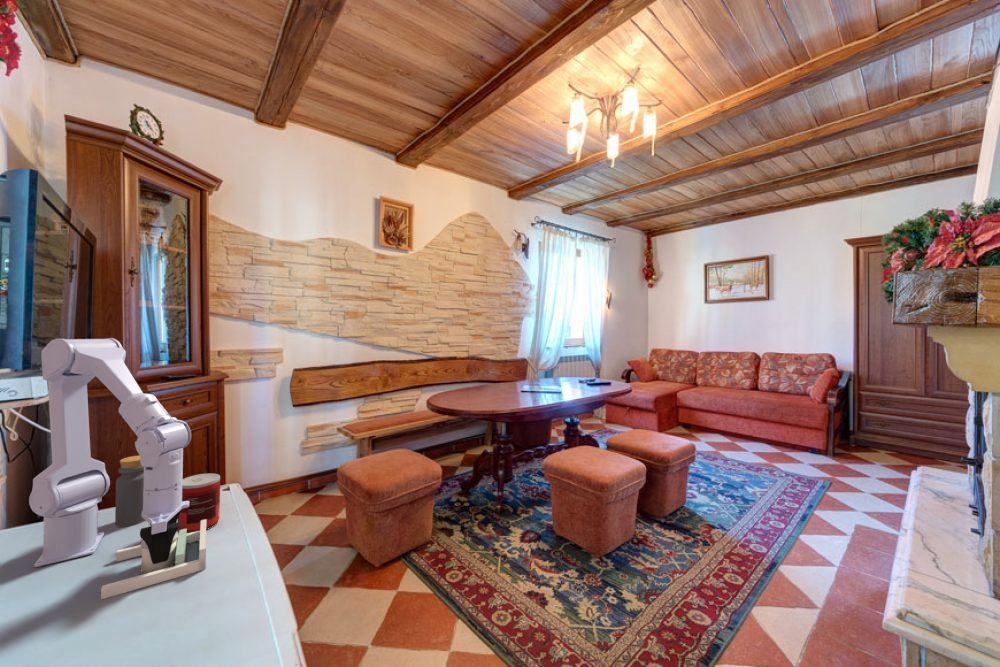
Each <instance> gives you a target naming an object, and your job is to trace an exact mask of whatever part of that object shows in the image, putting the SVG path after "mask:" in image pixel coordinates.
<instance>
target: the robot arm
mask: <svg viewBox="0 0 1000 667" xmlns="http://www.w3.org/2000/svg"><path fill="white" fill-rule="evenodd" d="M40 352H41V354H40V355H41V371H42V380H44V381H46V382H47V383H48V384H47V386H48V402H49V403H48V406H49V422H50V423H49V425H50V443H51V445H50V446H51V461H52V462H51V464H50V465H49V466H48V467H47V468H45V469H44V470H43V471H42V472H40V473H39V474H37V475H36V476H35V477H34V478H33V479H32V490H31V492H30V494H29V499H28V502H29V504H28V505H29V507H30V509H31V510H32V512H33V513H35V514H36V515H37V516H39V517H43V535H42V536H43V537H42V538H43V540H42V541H43V543H42V544H43V546H42V548H43V549H42V554H41V555H40V556H39V558H38V559H37V560H36V562H35V563H34V564H33V567H34V568H38V567H42V566H46V565H50V564H54V563H59V562H63V561H67V560H72V559H76V558H80V557H84V556H89V555H93V554H94V553H95V552H96V550H97V548H99V547H98V546H99V544H100V543H101V540H102V538H103V537H104V534H105V532H104V531H101V532H98V530H99V527H98V526H99V507H98V503H102V501H103V500H102V497H104V496H105V495H106V494H107V493H108V491H109V489H110V485H111V480H110V476H109V474H108V473H107V470H106V463H105V462H103V461H100V460H98V459H94V458H93V457H92V456H91V455H92V454H91V440H90V438H91V437H90V423H89V422H90V420H89V402H88V383H90V382H91V381H92V380H93V379H94V378H95V377H96V378H97V379H98V380H99V381H100V382H101V383H102V384H103V385H104V386H105V387H106V388H107V389H108V390H109V391H110V392H111V394H113V396H114V397H115V398H116V399H118V401H119V402H121V404H120V405H119V407H118V413H119V414H120V416H121V417H122V419H123V420H124V421H125V422H126V423H127V425H128V426H129V427H130V429H131V430H132V431H133V433H134V434H135V435H136V437H137V439H136V441H135V442H134V446H135V449H136V452H137V453H138V456H140V463H141V465H142V466H144V489H143V511H142V518H144V519H145V521H146V522H147V523H148V524H149V526H146V527H141V528H140V530H139V536H140V538H141V540H144V541H145V543H146V545H147V546H148V549H149V553H150V557H151V560H152V563H153V564H157V563H161V562H164V561H167V560H168V558H169V554H170V550H171V545H172V541H173V538H174V536H175V534H176V532H178V531H179V530H178V528H179V526H180V522H178V517H179V515H180V513H181V512H182V509H183V508H187V507H189V501H183V502H182V480H183V479H184V478H183V476H184V475H183V474H184V473H183V472H184V471H183V469H184V464H183V462H184V448H186V447H187V446H188V445H189V444H190V442H191V440H192V431H191V428H190V426H189V425H188V423H187V422H185V421H184V420H181V419H177V417H174V416H171V415H170V414H169V413H168V410H166V409H165V407H164V406H163V405H162V404H161V403H160V401H159V400H158V399H157V396H155V395H154V394H151V393H146V392H145V393H144V392H143V390H142V389H141V387H140V386H139V384H138V382H137V381H136V380H135V378H134V376H133V375H132V373H131V371H130V369H129V368H128V366H127V365H126V363H125V360H126V356H127V351H126V350H125V349H124V348H123V346H122V344H121V342H120V341H119V340H117V339H116V338H113V337H108V338H85V339H84V338H83V339H82V338H76V339H75V338H73V339H72V338H70V339H69V338H67V339H66V338H55V339H53V340H50V341H49V342H48V344H46V346H45V347H44V348H43V349H42V350H41V351H40Z"/></svg>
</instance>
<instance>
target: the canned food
mask: <svg viewBox="0 0 1000 667" xmlns="http://www.w3.org/2000/svg"><path fill="white" fill-rule="evenodd" d="M183 501H189V507H187V508H183V509H182V512H181V513H180V515H179V517H178V519H177V522H180V526H179V528H178V530H177V531H179V530H182V529H186V528H187V533H191V532H196V531H200V525H201V520H205V519H206V529H208V528H210V527H212V526H213V525H215V524H216V523H217V522H218V523H219V521H218V520H220V514H221V513H220V508H221V507H220V506H221V475H220V474H219V473H218V474H217V473H200V474H194V475H191V476H187V477H185V478H183V479H182V502H183ZM218 523H217V524H218ZM217 524H216V525H217ZM216 525H215V526H216ZM213 527H214V526H213ZM213 527H212V528H213ZM210 529H211V528H210ZM208 530H209V529H208Z"/></svg>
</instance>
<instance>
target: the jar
mask: <svg viewBox="0 0 1000 667" xmlns="http://www.w3.org/2000/svg"><path fill="white" fill-rule="evenodd" d="M178 535H179V531H177V532H176V534H175V536H174V538H173V541H172V545H171V550H170V554H169V558H168V560H167V561H164V562H161V563H157V564H153V563H152V560H151V557H150V553H149V549H148V546H147V545H146V543H145V541H144V540H143V539H141V541H140V545H141V547H142V555H141V566H140V567H141V568H140V571H141V572H142V573H144V574H147V573H150V572H154V571H158V570H161V569H165V568H169V567H172V566H173V565H174V564H175V555H176V549H177V547H176V543H177V538H178Z"/></svg>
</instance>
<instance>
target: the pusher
mask: <svg viewBox="0 0 1000 667" xmlns="http://www.w3.org/2000/svg"><path fill="white" fill-rule="evenodd" d="M186 538H187V528H186V529H182V530H178V542H177V547H176V555H175V563H174V564H175V565H174V566H176V565H179V564H183V563H185V558H186V550H187V549H186V548H187V544H186Z"/></svg>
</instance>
